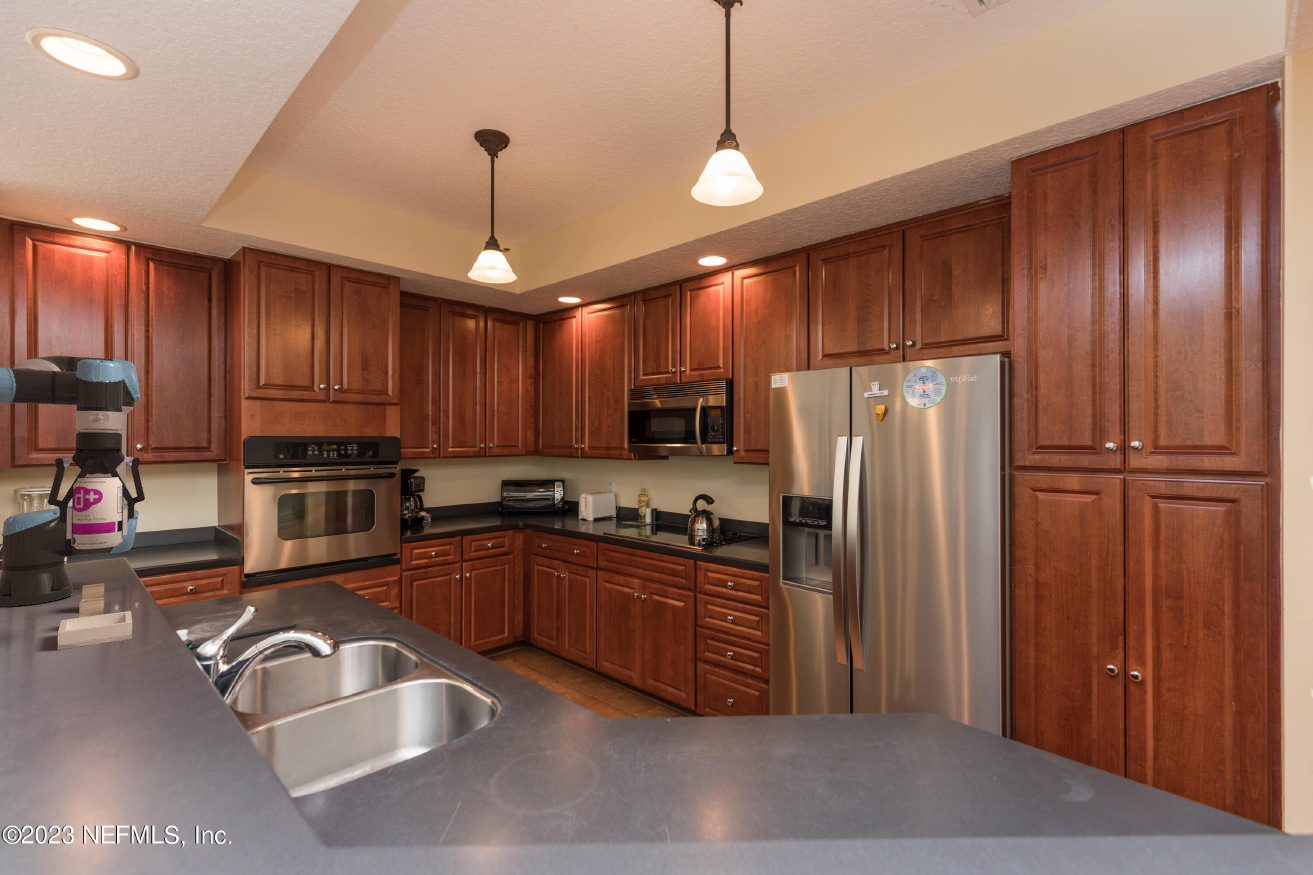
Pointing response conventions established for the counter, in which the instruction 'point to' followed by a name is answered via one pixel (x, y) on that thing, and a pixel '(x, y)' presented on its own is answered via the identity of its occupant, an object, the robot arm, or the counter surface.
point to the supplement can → (97, 513)
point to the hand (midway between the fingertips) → (97, 535)
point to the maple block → (93, 591)
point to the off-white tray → (94, 630)
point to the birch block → (91, 607)
